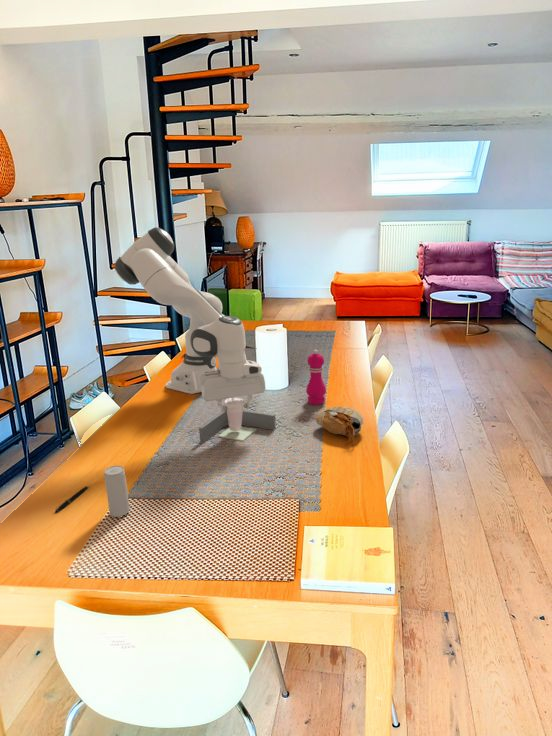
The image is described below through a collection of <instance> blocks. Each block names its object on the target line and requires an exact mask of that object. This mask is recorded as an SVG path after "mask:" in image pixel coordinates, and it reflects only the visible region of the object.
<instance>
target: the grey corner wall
mask: <svg viewBox="0 0 552 736" xmlns="http://www.w3.org/2000/svg"><path fill="white" fill-rule="evenodd" d="M276 420H277V419H276V414H275V413H268V412H261V411H254V410H249V409H248V410H247V409H243V414H242V424H241V430H239V431H231V430H230V427H229V426H228V428H226V429H225V430H224V431H223V432H221V433H220V434H219V435H218V438H222V439H229V440H235V441H239V442H240V441H241V442H245V440H247V439H248V438H249V437H250V436H251V435H253V433H255V432H256V431H257V429H256V428H259V429H260V428H261V429H267V430H273V431H275V430H276V428H277V425H276ZM227 425H229V422H228V416H227V411H225V412H221V411H220V412H219V413H218V414H216V415H215V416H213V417H212V418H210V420H207V421H206V422H205V423H204V424H202V425H201V426H199V427H198V431H199V442H200V443H202V444H203V443H205V442H207V441H208V440H209V439H210V438H211V437H213V436H214V435H215V434H217V433H219V431H221V430H222V429H223V428H225V427H226V426H227ZM247 426H248V427H247ZM251 427H255V428H251Z"/></svg>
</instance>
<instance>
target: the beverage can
mask: <svg viewBox="0 0 552 736" xmlns="http://www.w3.org/2000/svg"><path fill="white" fill-rule="evenodd" d="M103 472H104V474H103V475H104V476H103V477H104V483H105V484H104V485H105V489H106V490H105V491H106V495H107V496H106V497H107V504H108V509H109V510H108V511H109V515H110V516H111V517H113V516H114V517H113V518H116V517H119V516H123V515H125V514H127V513H128V514H129V513H130V509H131V508H130V501H129V493H128V492H129V491H128V485H127V478H126V473H125V468H124V467H123V466H121V465H113V466H110V467H107V468H106V469H105V470H104V471H103ZM128 514H127V515H128ZM125 516H126V515H125ZM123 517H124V516H123ZM119 518H120V517H119Z"/></svg>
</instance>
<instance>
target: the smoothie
mask: <svg viewBox="0 0 552 736" xmlns="http://www.w3.org/2000/svg"><path fill="white" fill-rule="evenodd" d="M244 402H245V400H244V398H241V397H233V398H227V399H225V400H224V404H223V405H225V406H226V411H227V416H228V422H229V424H228V428H229V427H230V430H231V431H239V430H241V427H242V425H241V424H242V414H243V410H244Z"/></svg>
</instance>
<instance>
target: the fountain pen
mask: <svg viewBox="0 0 552 736" xmlns="http://www.w3.org/2000/svg"><path fill="white" fill-rule="evenodd" d="M90 485H91V484H88V485H86V486H84V487H82V489H80V490H78V491H77V492H75V494H73V495H72V496H71V497H69V498H68V499H64V500H63V501H62V502H61V503H60V504H59V505H58V506H57V507H55V511H54V513H59V512H61V511H62V510H63V509H65V508H66V507H68V506H69V505H70V504H71V503H73V501H75V500H76V499H77V498H78V497H80V496H81V495H82V494H83V493H84V492H86V491H87V490H88V488H89V487H90Z"/></svg>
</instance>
